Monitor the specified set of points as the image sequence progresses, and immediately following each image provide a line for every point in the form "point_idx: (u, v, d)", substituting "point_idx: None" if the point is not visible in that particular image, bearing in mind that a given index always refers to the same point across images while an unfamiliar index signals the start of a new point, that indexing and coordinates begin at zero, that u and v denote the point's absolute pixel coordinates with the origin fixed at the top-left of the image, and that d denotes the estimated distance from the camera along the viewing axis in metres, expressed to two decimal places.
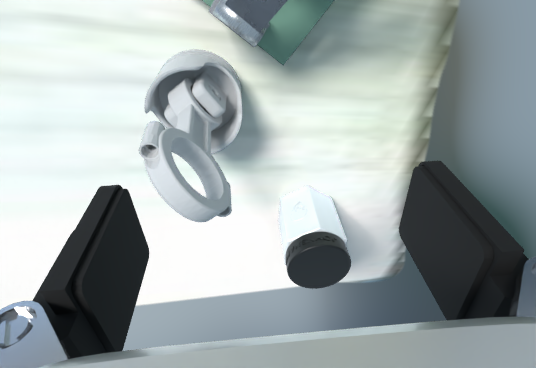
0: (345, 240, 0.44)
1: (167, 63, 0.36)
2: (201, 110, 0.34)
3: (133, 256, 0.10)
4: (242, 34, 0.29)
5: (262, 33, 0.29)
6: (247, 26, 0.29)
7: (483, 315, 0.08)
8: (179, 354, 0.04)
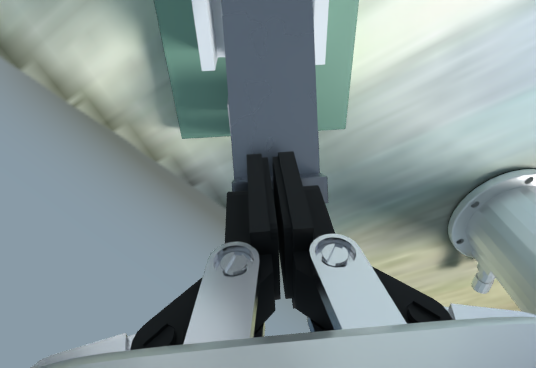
0: None
1: None
2: None
3: None
4: None
5: None
6: None
7: (294, 288, 0.09)
8: (179, 354, 0.04)
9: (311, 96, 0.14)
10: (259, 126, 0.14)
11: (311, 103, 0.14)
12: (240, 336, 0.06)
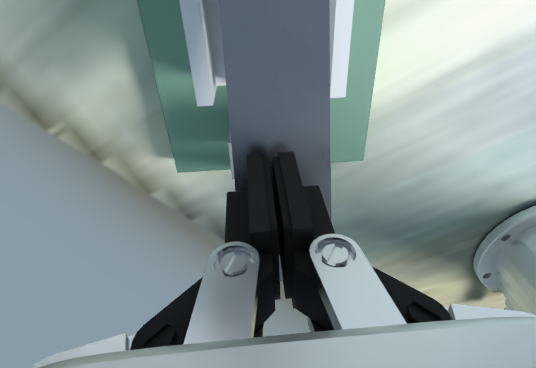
0: None
1: None
2: None
3: None
4: None
5: None
6: None
7: (294, 288, 0.09)
8: (179, 354, 0.04)
9: (324, 155, 0.12)
10: None
11: (324, 162, 0.13)
12: (240, 336, 0.06)
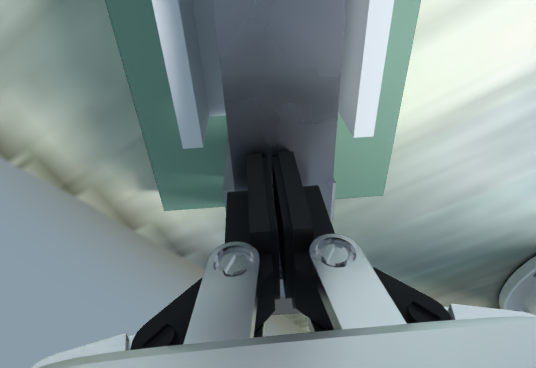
0: None
1: None
2: None
3: None
4: None
5: None
6: None
7: (294, 288, 0.09)
8: (179, 354, 0.04)
9: (327, 184, 0.12)
10: None
11: (327, 190, 0.12)
12: (240, 336, 0.06)
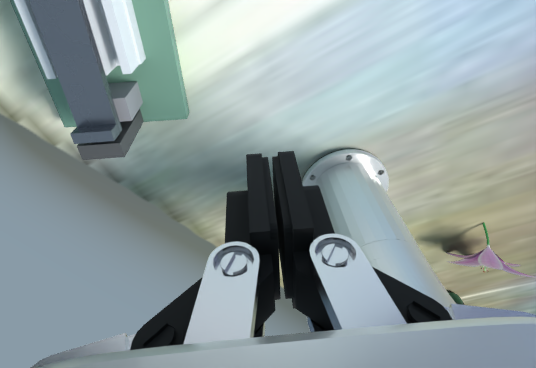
0: None
1: None
2: None
3: None
4: None
5: None
6: None
7: (294, 288, 0.09)
8: (179, 354, 0.04)
9: (103, 91, 0.30)
10: (82, 104, 0.30)
11: (104, 94, 0.30)
12: (240, 336, 0.06)
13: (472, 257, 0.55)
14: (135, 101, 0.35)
